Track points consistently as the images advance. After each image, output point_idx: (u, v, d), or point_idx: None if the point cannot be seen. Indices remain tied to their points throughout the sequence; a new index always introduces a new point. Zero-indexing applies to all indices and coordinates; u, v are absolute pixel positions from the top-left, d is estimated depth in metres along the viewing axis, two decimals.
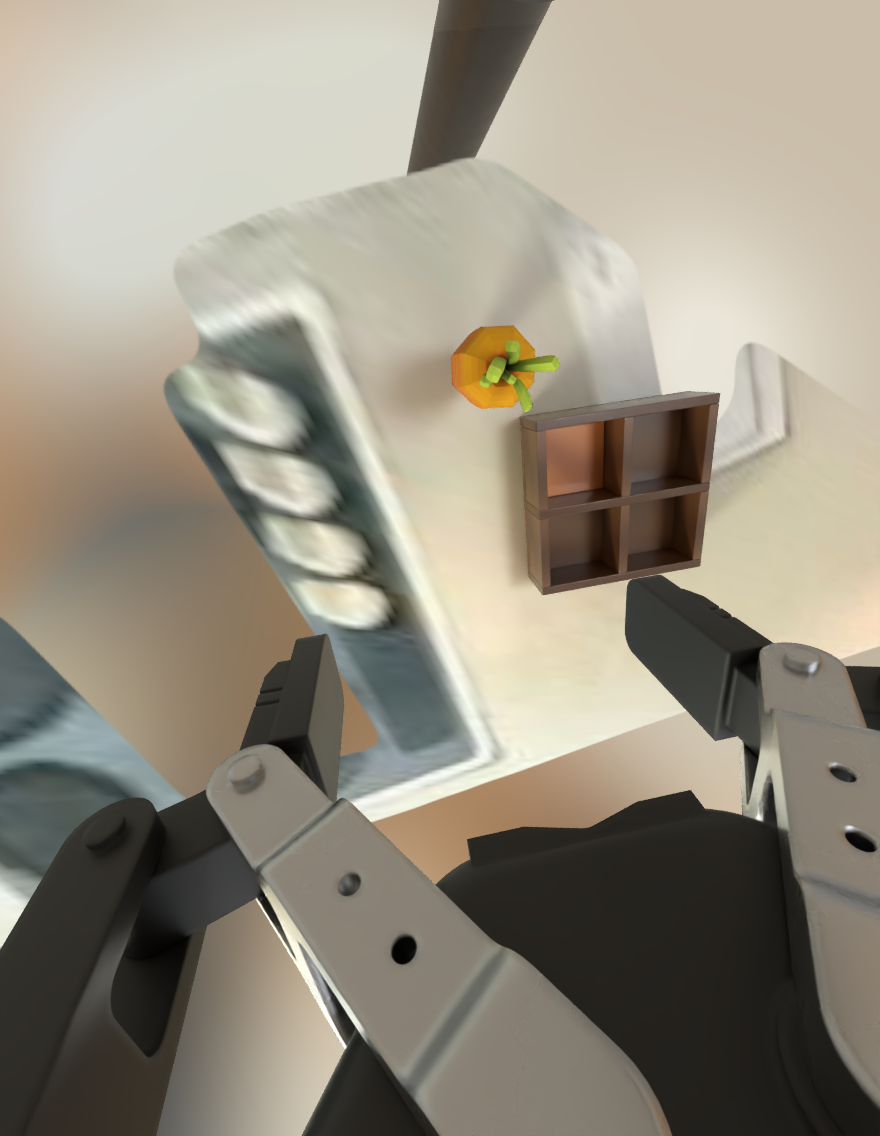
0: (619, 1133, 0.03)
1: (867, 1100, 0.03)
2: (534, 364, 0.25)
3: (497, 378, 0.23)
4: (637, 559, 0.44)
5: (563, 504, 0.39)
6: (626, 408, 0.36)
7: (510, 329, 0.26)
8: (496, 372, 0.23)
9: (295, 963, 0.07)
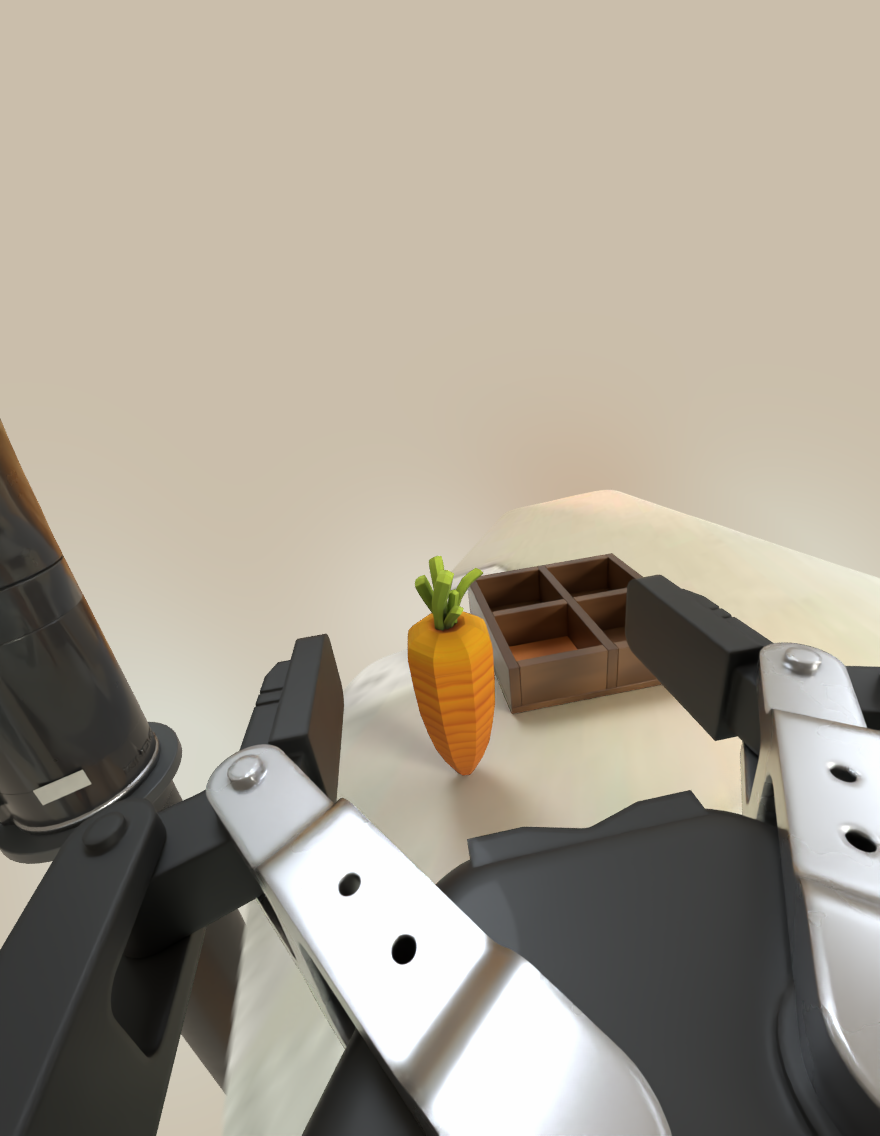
0: (619, 1133, 0.03)
1: (868, 1101, 0.03)
2: (437, 575, 0.25)
3: (448, 572, 0.22)
4: None
5: (593, 639, 0.35)
6: (485, 617, 0.39)
7: (410, 630, 0.25)
8: (443, 572, 0.22)
9: (295, 963, 0.07)
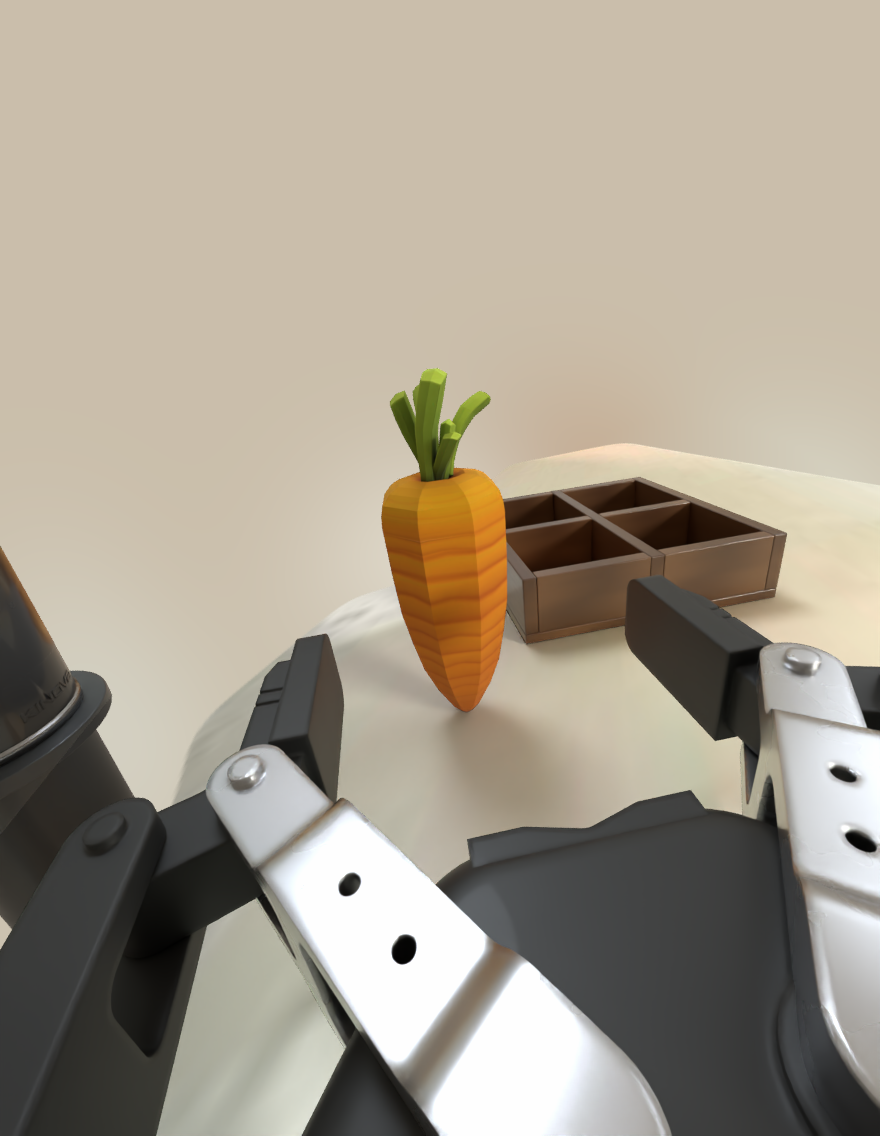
0: (619, 1133, 0.03)
1: (868, 1100, 0.03)
2: None
3: (439, 370, 0.15)
4: None
5: (628, 550, 0.27)
6: None
7: (386, 492, 0.18)
8: (430, 370, 0.14)
9: (295, 963, 0.07)
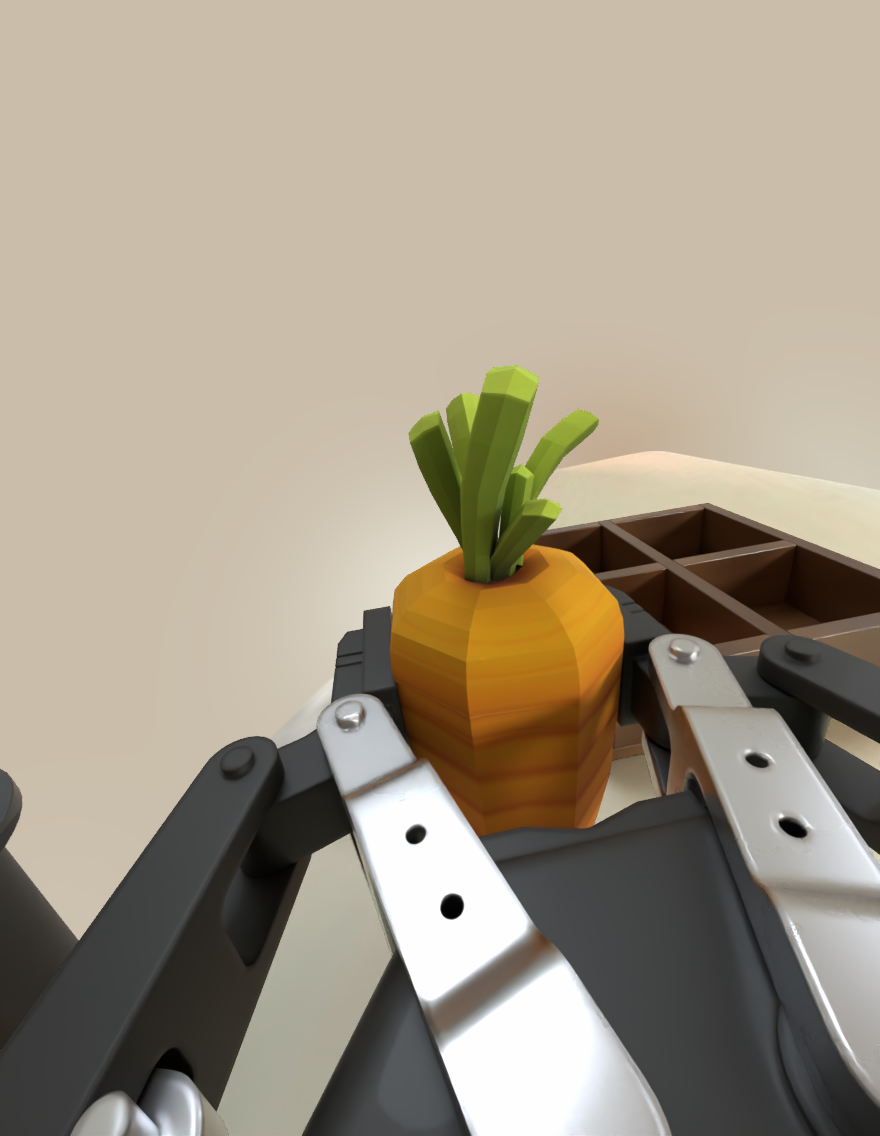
0: None
1: (868, 1101, 0.03)
2: None
3: (522, 368, 0.07)
4: None
5: (735, 624, 0.19)
6: None
7: (398, 590, 0.10)
8: (503, 368, 0.06)
9: None
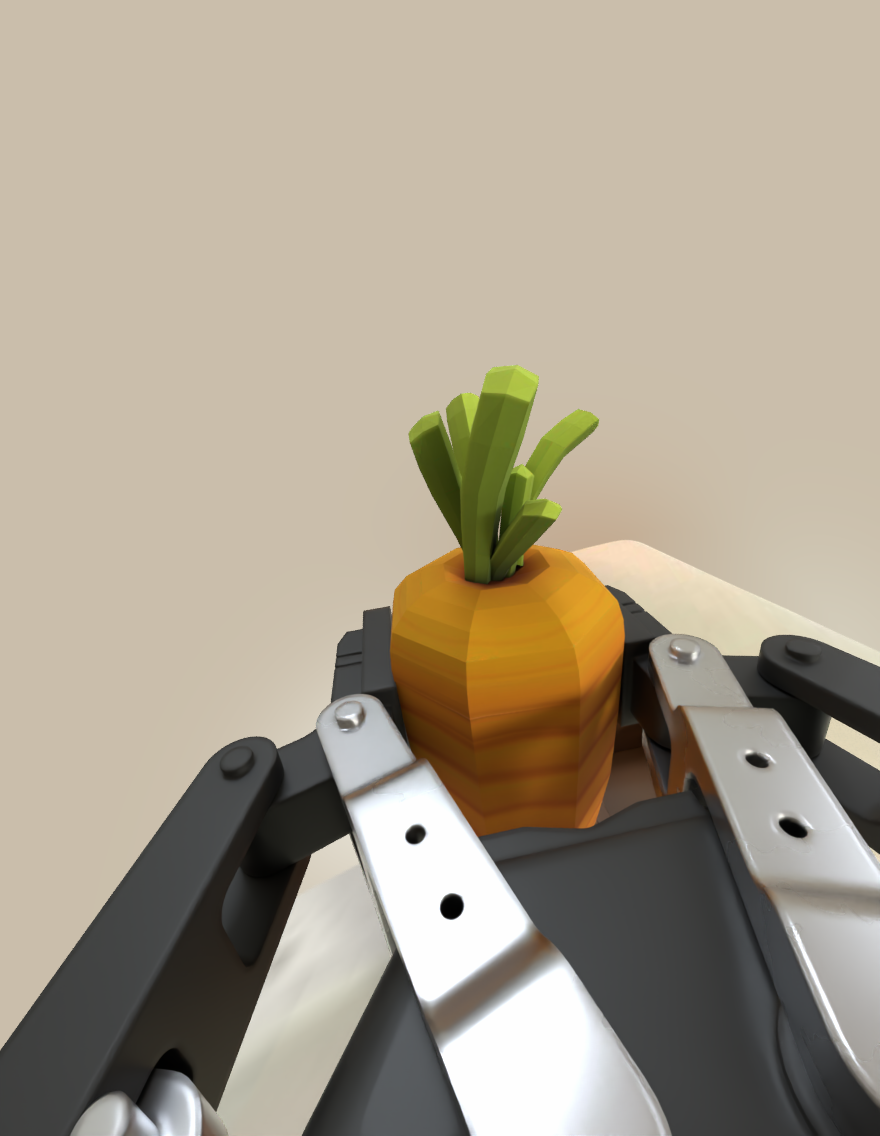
0: None
1: (868, 1101, 0.03)
2: None
3: (522, 368, 0.07)
4: None
5: None
6: None
7: (398, 591, 0.10)
8: (503, 368, 0.06)
9: (369, 890, 0.08)
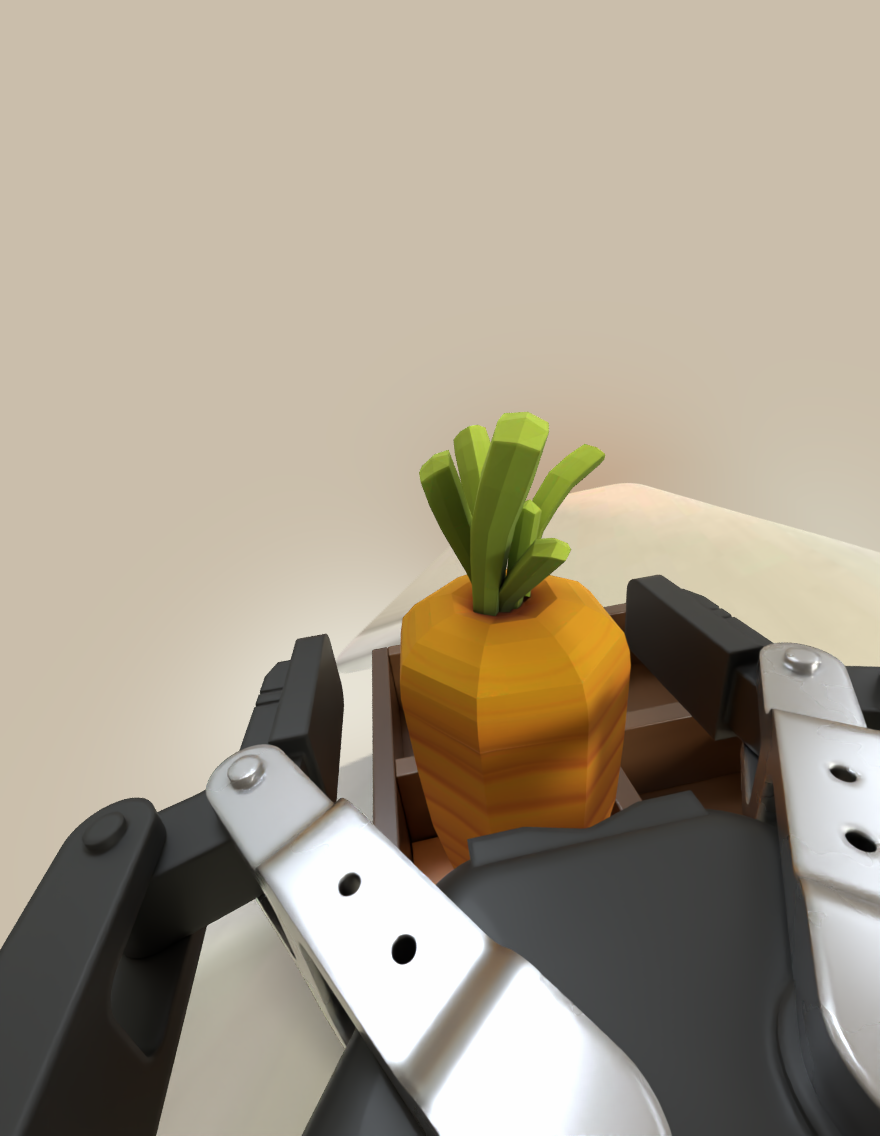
0: (619, 1133, 0.03)
1: (868, 1100, 0.03)
2: (478, 471, 0.09)
3: (532, 416, 0.07)
4: None
5: None
6: (374, 779, 0.15)
7: (406, 619, 0.10)
8: (514, 416, 0.07)
9: (295, 963, 0.07)
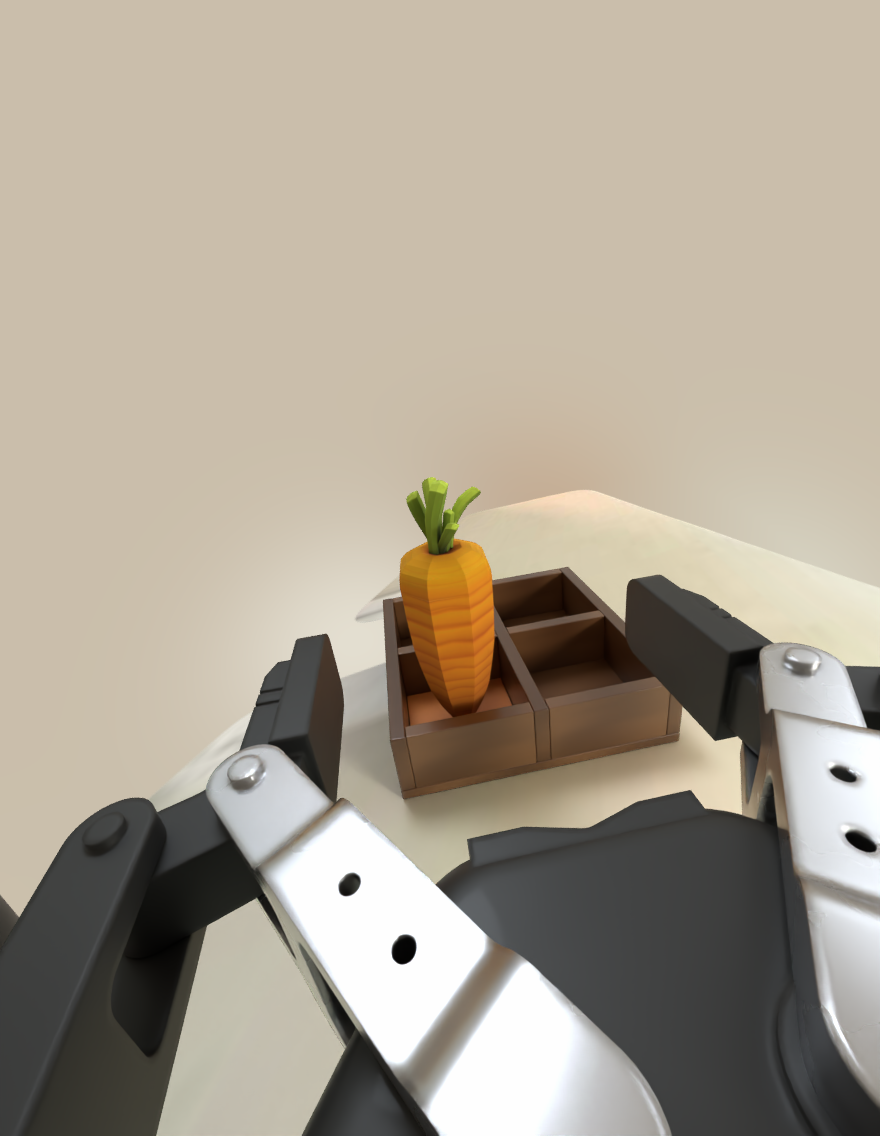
0: (619, 1133, 0.03)
1: (868, 1100, 0.03)
2: None
3: (442, 481, 0.20)
4: None
5: (520, 690, 0.25)
6: (386, 655, 0.29)
7: (402, 559, 0.24)
8: (436, 482, 0.20)
9: (295, 963, 0.07)
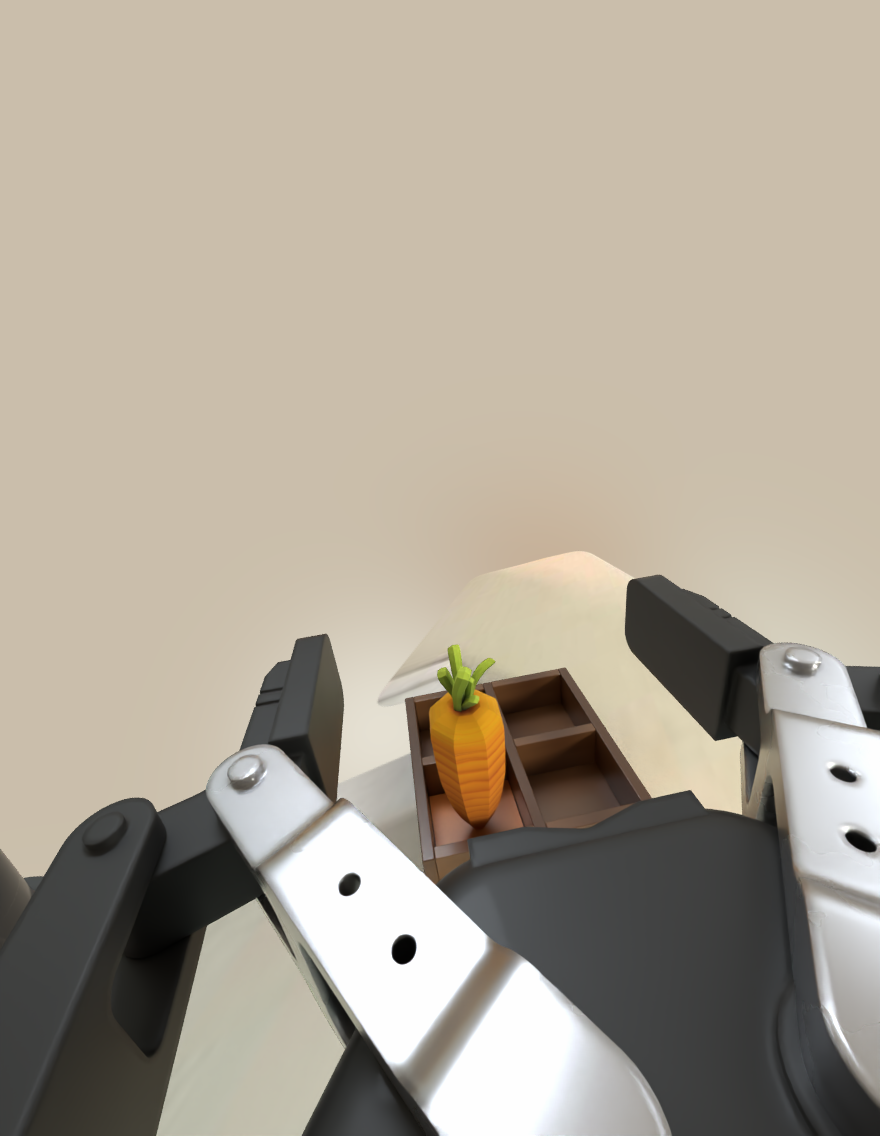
0: (619, 1132, 0.03)
1: (868, 1101, 0.03)
2: (455, 663, 0.28)
3: (467, 668, 0.26)
4: (579, 723, 0.39)
5: (525, 808, 0.31)
6: (413, 766, 0.35)
7: (431, 709, 0.29)
8: (462, 669, 0.26)
9: (295, 963, 0.07)
